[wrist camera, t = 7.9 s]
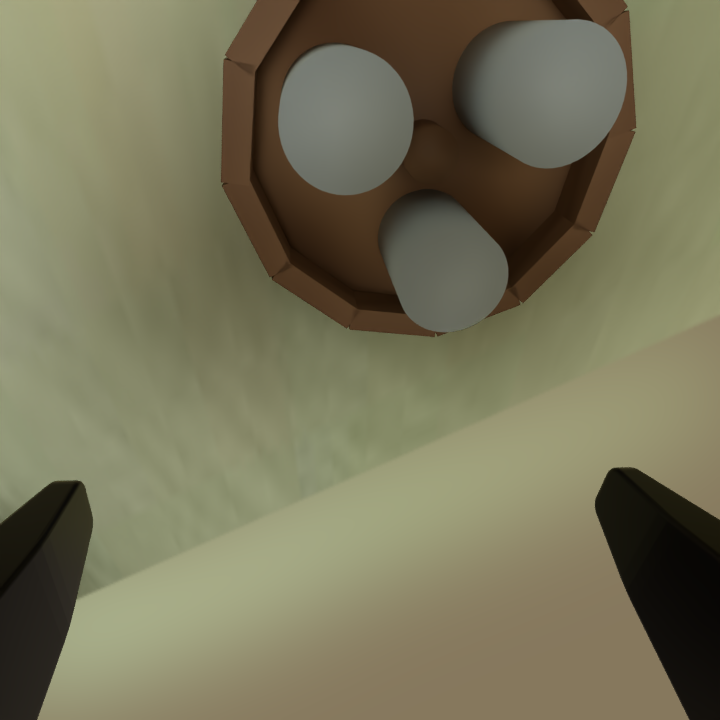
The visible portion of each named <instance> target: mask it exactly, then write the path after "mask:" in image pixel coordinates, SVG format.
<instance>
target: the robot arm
mask: <svg viewBox="0 0 720 720" xmlns="http://www.w3.org/2000/svg"><path fill="white" fill-rule="evenodd" d="M595 510H596V514H597V516H598V519H599V522H600V524H601V527H602V529H603V532H604V535H605V537H606V540H607V543H608V545H609V548H610V550H611V553H612V556H613V558H614V561H615V564H616V566H617V569H618V572H619V574H620V577H621V579H622V582H623V584H624V587H625V589H626V591H627V594H628V596H629V598H630V600H631V602H632V604H633V606H634V608H635V610H636V612H637V614H638V616H639V619H640V621H641V623H642V624H643V627H644V629H645V631H646V633H647V635H648V637H649V639H650V641H651V643H652V645H653V647H654V649H655V651H656V653H657V655H658V657H659V659H660V661H661V663H662V665H663V667H664V669H665V671H666V673H667V675H668V677H669V679H670V681H671V684H672V686H673V688H674V690H675V692H676V694H677V696H678V698H679V700H680V702H681V704H682V706H683V708H684V710H685V712H686V714H687V716H688V718H689V720H720V520H719V519H717V518H716V517H714V516H712V515H711V514H709V513H708V512H706V511H704V510H703V509H701V508H700V507H698V506H696V505H695V504H693V503H691V502H689V501H688V500H687V499H685V498H683V497H682V496H680V495H678V494H677V493H675V492H674V491H672V490H670V489H669V488H667V487H665V486H664V485H662V484H660V483H659V482H657V481H656V480H654V479H652V478H651V477H649V476H648V475H646V474H644V473H643V472H641V471H639V470H638V469H635V468H631V467H624V468H623V467H621V468H612V469H611V470H610V471H609V472H608V473H607V475H606V477H605V479H604V482H603V484H602V486H601V488H600V490H599V492H598V495H597V497H596V500H595ZM92 528H93V517H92V512H91V508H90V504H89V501H88V497H87V493H86V489H85V486H84V484H83V483H82V482H81V481H78V480H73V481H54V482H52V483H50V484H49V485H47V486H46V487H45V488H44V489H42V490H41V491H40V492H39V493H37V494H36V495H35V496H34V497H33V498H31V499H30V500H29V501H28V502H26V503H25V504H24V505H23V506H22V507H20V508H19V509H18V510H17V511H15V512H14V513H13V514H12V515H10V516H9V517H8V518H7V519H6V520H4V521H3V522H2V523H1V524H0V720H37V719H38V716H39V713H40V710H41V707H42V704H43V701H44V699H45V696H46V693H47V690H48V687H49V685H50V682H51V679H52V676H53V673H54V671H55V668H56V665H57V662H58V659H59V656H60V653H61V651H62V648H63V645H64V642H65V639H66V636H67V633H68V630H69V627H70V623H71V619H72V615H73V611H74V607H75V603H76V598H77V594H78V590H79V585H80V581H81V577H82V572H83V568H84V564H85V560H86V555H87V551H88V547H89V542H90V538H91V534H92Z"/></svg>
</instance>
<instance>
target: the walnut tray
mask: <svg viewBox="0 0 720 720" xmlns="http://www.w3.org/2000/svg"><path fill="white" fill-rule="evenodd" d="M627 7H628V6H627V5H626V3H625V2H624V1H623V0H257V2H256V3H255V5H254V7H253V9H252V10H251V12H250V14H249V15H248V17H247V19H246V20H245V22H244V24H243V25H242V27H241V29H240V30H239V32H238V34H237V35H236V37H235V39H234V40H233V42H232V44H231V46H230V47H229V49H228V51H227V52H226V54H225V55H226V56H227V57H228V58H226V59H224V66H223V114H222V162H221V182H224V183H223V185H222V187H223V189H224V191H225V193H226V195H227V197H228V198H229V200H230V202H231V204H232V206H233V208H234V210H235V212H236V214H237V216H238V218H239V219H240V221H241V223H242V225H243V227H244V229H245V231H246V233H247V235H248V237H249V239H250V240H251V242H252V244H253V246H254V248H255V250H256V252H257V254H258V256H259V258H260V260H261V261H262V263H263V265H264V267H265V269H266V271H267V273H268V275H269V277H271V276H272V280H273V281H275V282H276V283H278V284H280V285H281V286H283V287H284V288H286V289H287V290H289V291H290V292H292V293H293V294H295V295H296V296H298V297H299V298H301V299H302V300H304V301H305V302H307V303H309V304H310V305H312V306H313V307H315V308H316V309H318V310H319V311H321V312H322V313H324V314H325V315H327V316H328V317H330V318H331V319H333V320H335V321H336V322H338V323H339V324H341V325H342V326H344V327H345V328H348V326H349V329H350V330H361V331H373V332H384V333H396V334H408V335H419V336H431V337H435V333H436V334H437V336H440V335H442V334H445V333H448V332H436V331H431V330H428V329H425V328H423V327H421V326H419V325H418V324H416V323H415V322H414V321H412V320H411V319H410V318H409V317H408V315H407V314H406V313H405V311H404V310H403V307H402V305H401V303H400V300H399V298H398V295H397V293H396V290H395V288H394V285H393V283H392V280H391V278H390V275H389V273H388V270H387V268H386V265H385V263H384V260H383V258H382V255H381V253H380V249H379V245H378V232H379V227H380V223H381V221H382V218H383V217H384V215H385V213H386V212H387V210H388V209H389V207H390V206H391V205H392V204H393V203H394V202H395V201H397V200H398V199H399V198H401V197H402V196H404V195H406V194H408V193H410V192H413V191H416V190H421V189H434V190H439V191H442V192H445V193H447V194H449V195H450V196H452V197H453V198H454V199H456V200H457V202H458V203H459V204H460V205H461V206H462V207H463V208H464V209H465V210H466V211H467V212H468V213H469V214H470V215H471V216H472V217H473V218H474V219H475V220H476V222H477V223H478V224H479V225H480V226H481V227H482V228H483V229H484V230H485V231H486V232H487V233H488V234H489V235H490V236H491V237H492V238H493V239H494V241H495V242H496V243H497V244H498V245H499V246H500V247H501V249H502V250H503V252H504V254H505V257H506V260H507V264H508V282H507V286H506V289H505V292H504V294H503V296H502V298H501V300H500V302H499V303H498V305H497V306H496V307H495V309H494V310H493V311H492V312H491V313H490V314H489V315H488V316H487V317H490V316H492V315H495V314H498V313H500V312H503V311H506V310H508V309H511V308H513V307H516V306H519V305H520V301H521V302H522V303H524V302H525V301H526V300H527V299H528V298H529V297H530V296H531V295H532V294H533V293H534V292H535V291H536V290H537V289H538V288H539V287H540V286H541V285H542V284H543V283H544V282H545V281H546V280H547V279H548V278H549V277H550V276H551V275H552V274H553V273H554V272H555V271H556V270H557V269H558V268H559V267H560V266H561V265H562V264H563V263H564V262H565V261H566V260H567V259H568V258H570V257H571V256H572V255H573V254H574V253H575V252H576V251H577V250H578V249H579V248H580V247H581V246H582V245H583V244H584V243H585V242H586V241H587V240H588V239H589V238H590V237H591V236H592V234H591V233H590V232H589V231H591V232H595V230H596V227H597V225H598V222H599V220H600V217H601V215H602V212H603V210H604V208H605V205H606V203H607V200H608V198H609V195H610V193H611V190H612V188H613V186H614V183H615V181H616V178H617V176H618V173H619V171H620V168H621V166H622V164H623V161H624V159H625V156H626V154H627V151H628V149H629V146H630V144H631V142H632V139H633V137H634V134H635V132H634V131H631V130H632V129H635V128H636V116H635V100H634V84H633V68H632V51H631V35H630V19H629V11H624V10H625V9H626V8H627ZM573 19H580V20H587V21H591V22H594V23H596V24H598V25H600V26H602V27H604V28H605V29H606V30H608V31H609V32H610V33H611V34H612V35H613V36H614V38H615V39H616V40H617V42H618V43H619V45H620V47H621V49H622V52H623V54H624V58H625V62H626V69H627V86H626V93H625V97H624V102H623V105H622V108H621V110H620V113H619V115H618V117H617V119H616V121H615V123H614V125H613V126H612V128H611V130H610V131H609V132H608V134H607V135H606V136H605V138H604V139H603V140H602V141H601V142H600V143H599V144H598V145H597V146H596V147H595V148H594V149H593V150H592V151H591V152H589V153H588V154H587V155H585V156H584V157H582V158H581V159H579V160H577V161H575V162H573V163H571V164H568V165H565V166H562V167H557V168H547V169H546V168H537V167H533V166H530V165H527V164H525V163H523V162H521V161H520V160H518V159H516V158H514V157H513V156H511V155H509V154H508V153H506V152H504V151H502V150H501V149H499V148H497V147H496V146H494V145H492V144H490V143H489V142H487V141H485V140H484V139H482V138H480V137H478V136H477V135H475V134H473V133H472V132H471V131H469V130H468V129H467V128H466V127H465V126H464V125H463V123H462V122H461V120H460V119H459V117H458V115H457V113H456V110H455V107H454V102H453V95H452V85H453V77H454V73H455V69H456V66H457V63H458V61H459V59H460V57H461V55H462V53H463V51H464V50H465V48H466V47H467V46H468V44H469V43H470V42H471V41H472V40H473V39H474V38H475V37H476V36H477V35H478V34H479V33H480V32H482V31H483V30H485V29H486V28H488V27H490V26H492V25H494V24H497V23H500V22H505V21H530V20H573ZM333 42H335V43H343V44H347V45H350V46H353V47H356V48H360V49H363V50H366V51H368V52H371V53H373V54H375V55H377V56H378V57H380V58H382V59H383V60H385V61H386V62H387V63H388V64H389V65H390V66H391V67H392V68H393V69H394V70H395V71H396V72H397V73H398V75H399V76H400V78H401V79H402V81H403V82H404V84H405V86H406V88H407V90H408V93H409V96H410V99H411V103H412V108H413V117H414V121H413V134H412V139H411V143H410V146H409V149H408V152H407V154H406V156H405V158H404V160H403V162H402V163H401V165H400V166H399V168H398V169H397V170H396V171H395V172H394V174H393V175H392V176H391V177H390V178H389V179H387V180H386V181H385V182H384V183H382V184H381V185H379V186H378V187H376V188H374V189H372V190H370V191H367V192H364V193H360V194H355V195H336V194H331V193H328V192H325V191H322V190H320V189H318V188H316V187H314V186H312V185H311V184H309V183H308V182H306V181H305V180H304V179H303V178H302V177H301V176H300V175H299V174H298V173H297V172H296V171H295V170H294V168H293V167H292V165H291V164H290V162H289V161H288V159H287V157H286V155H285V153H284V150H283V147H282V145H281V140H280V136H279V128H278V114H279V106H280V98H281V90H282V85H283V82H284V79H285V76H286V74H287V72H288V70H289V68H290V66H291V65H292V64H293V62H294V61H295V60H296V59H297V58H298V57H299V56H300V55H301V54H302V53H304V52H305V51H306V50H308V49H310V48H312V47H314V46H317V45H319V44H324V43H333ZM519 300H520V301H519ZM487 317H485V318H487ZM485 318H484V319H485Z"/></svg>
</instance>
